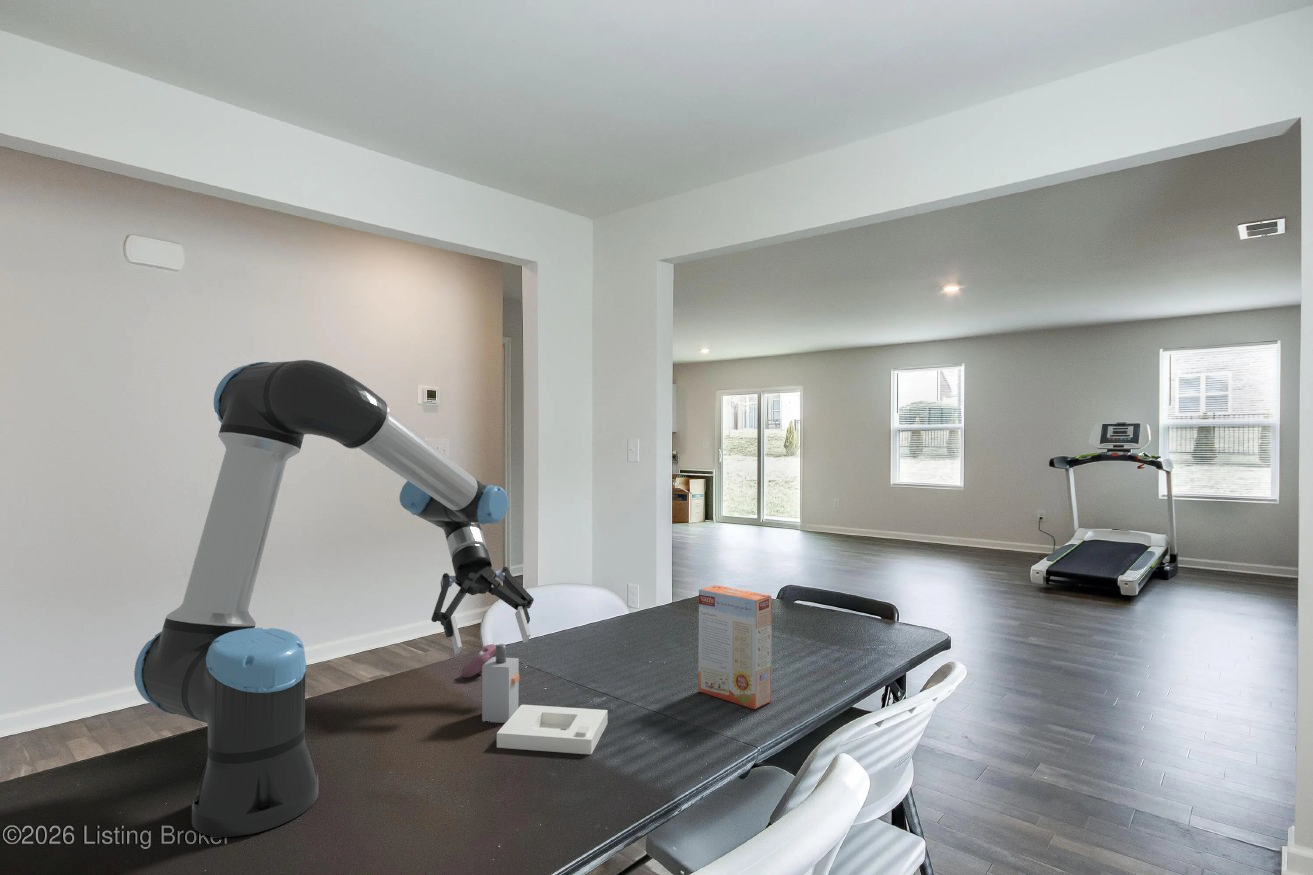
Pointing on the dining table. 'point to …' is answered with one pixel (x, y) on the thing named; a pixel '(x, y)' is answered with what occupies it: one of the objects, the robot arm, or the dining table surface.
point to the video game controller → (479, 661)
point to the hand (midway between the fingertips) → (493, 644)
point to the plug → (500, 687)
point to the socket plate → (553, 729)
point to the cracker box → (735, 645)
